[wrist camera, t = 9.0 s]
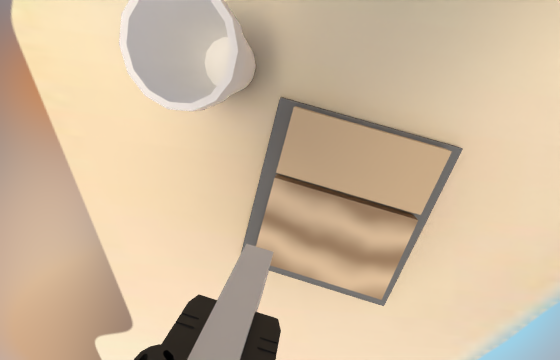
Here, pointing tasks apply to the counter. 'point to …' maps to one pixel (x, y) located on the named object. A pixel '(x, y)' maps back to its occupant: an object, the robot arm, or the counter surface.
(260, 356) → the robot arm
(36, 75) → the counter surface
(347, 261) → the plank
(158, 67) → the foam cup
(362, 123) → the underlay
